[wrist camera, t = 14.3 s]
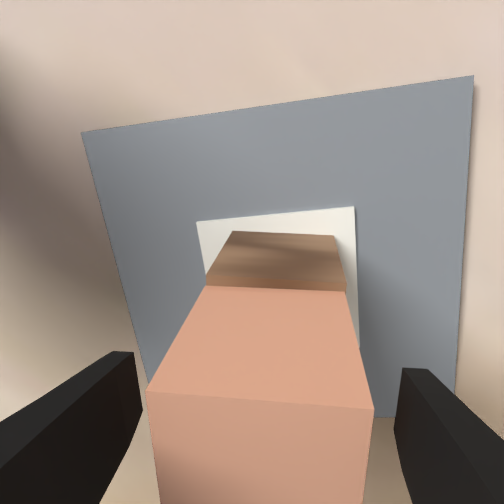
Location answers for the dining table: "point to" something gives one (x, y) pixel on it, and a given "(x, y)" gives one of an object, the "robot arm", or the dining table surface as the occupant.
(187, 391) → the terracotta block
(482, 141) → the dining table surface
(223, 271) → the walnut block
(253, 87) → the dining table surface
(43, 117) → the dining table surface
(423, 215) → the board
